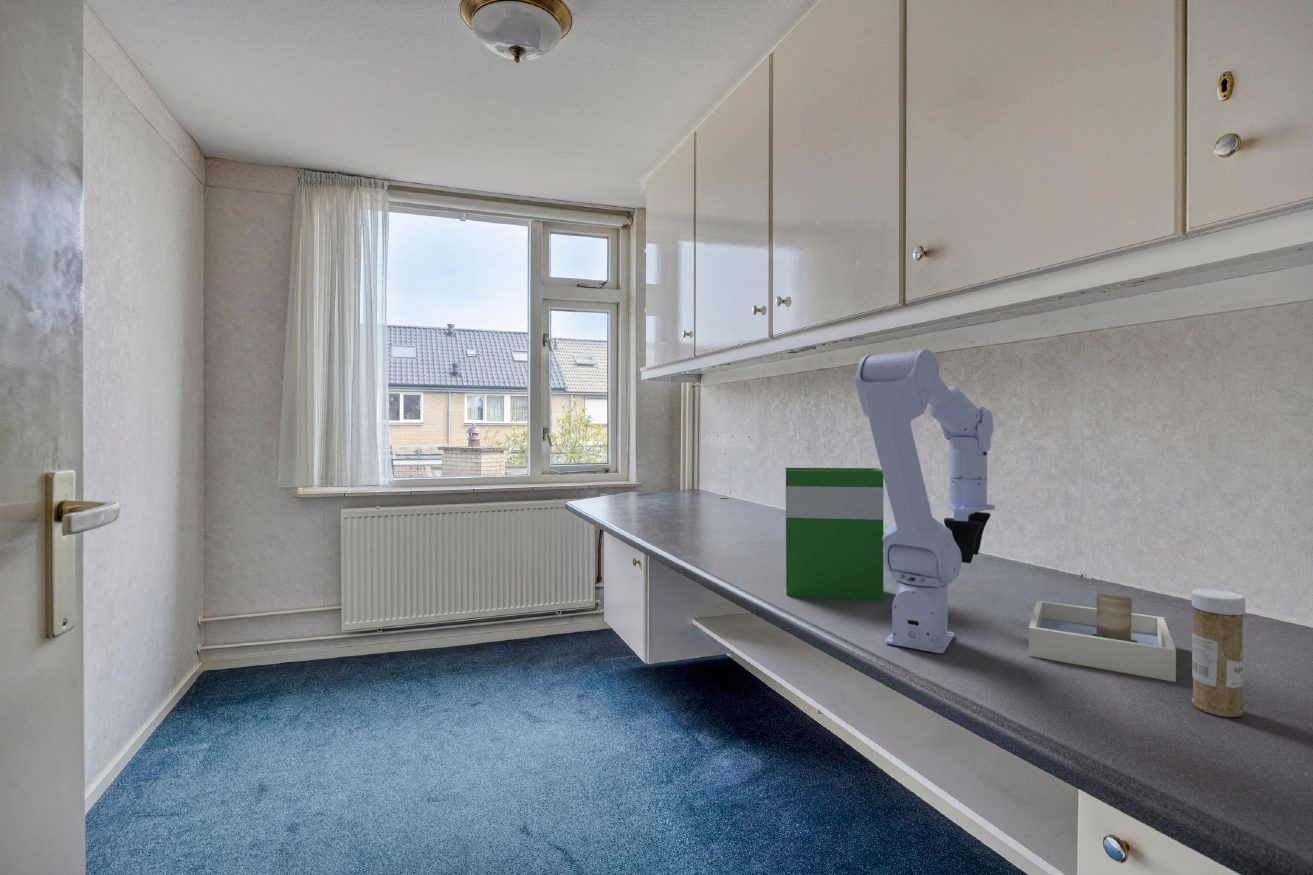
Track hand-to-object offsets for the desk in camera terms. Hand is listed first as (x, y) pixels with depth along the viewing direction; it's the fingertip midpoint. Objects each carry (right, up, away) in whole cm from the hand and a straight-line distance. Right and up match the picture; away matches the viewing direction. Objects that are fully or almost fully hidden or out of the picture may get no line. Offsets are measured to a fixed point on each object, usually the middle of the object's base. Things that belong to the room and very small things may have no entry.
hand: (967, 557), depth 106 cm
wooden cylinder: (+12, -10, -17) cm, 23 cm away
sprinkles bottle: (+11, -11, -34) cm, 38 cm away
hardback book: (-19, -10, +16) cm, 26 cm away
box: (+11, -10, -16) cm, 22 cm away
